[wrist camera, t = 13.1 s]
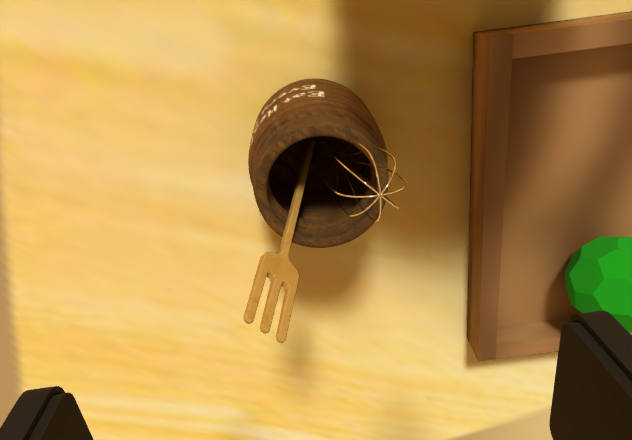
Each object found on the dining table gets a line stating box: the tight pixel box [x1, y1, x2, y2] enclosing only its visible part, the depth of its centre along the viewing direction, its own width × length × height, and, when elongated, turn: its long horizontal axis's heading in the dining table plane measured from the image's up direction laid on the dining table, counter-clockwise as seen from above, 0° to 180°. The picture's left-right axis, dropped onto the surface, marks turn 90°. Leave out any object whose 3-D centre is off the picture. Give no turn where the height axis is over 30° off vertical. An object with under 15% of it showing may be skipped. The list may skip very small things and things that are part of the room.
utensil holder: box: [244, 79, 407, 343], centre depth 20 cm, size 6×6×12 cm
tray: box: [467, 12, 632, 361], centre depth 26 cm, size 14×18×2 cm
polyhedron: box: [565, 237, 632, 333], centre depth 26 cm, size 5×5×5 cm
